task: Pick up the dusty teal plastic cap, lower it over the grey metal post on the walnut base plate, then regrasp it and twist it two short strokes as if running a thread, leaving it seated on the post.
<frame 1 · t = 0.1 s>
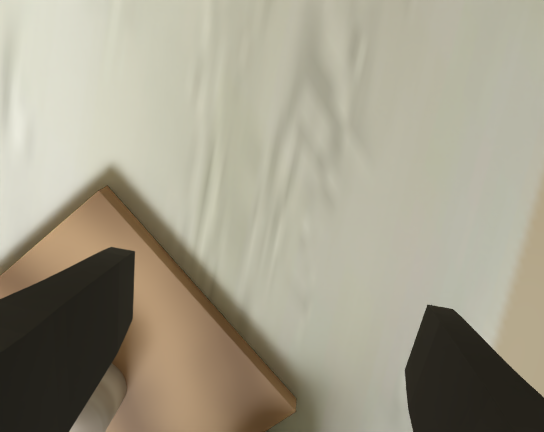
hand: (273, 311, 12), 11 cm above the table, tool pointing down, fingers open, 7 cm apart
post fixture: (105, 373, 25), on the table
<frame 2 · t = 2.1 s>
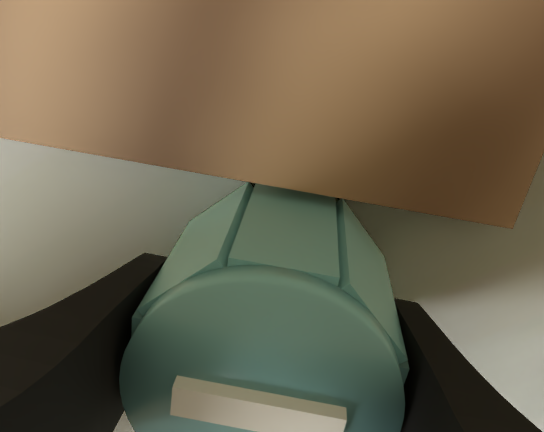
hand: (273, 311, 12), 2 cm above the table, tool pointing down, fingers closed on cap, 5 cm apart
cap: (279, 277, 13), on the table, touching gripper
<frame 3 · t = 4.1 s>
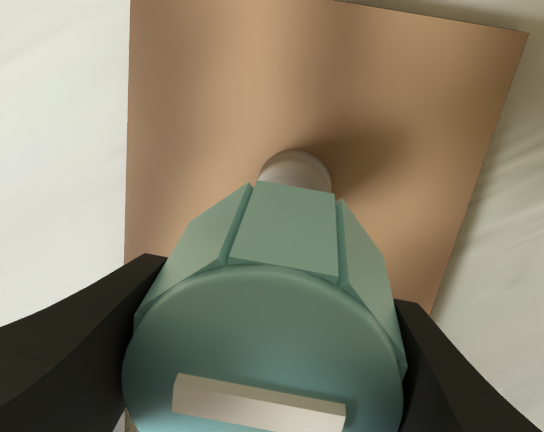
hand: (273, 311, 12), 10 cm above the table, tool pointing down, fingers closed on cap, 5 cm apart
post fixture: (295, 176, 21), on the table
cap: (279, 276, 13), point 8 cm above the table, touching gripper
when the fingers open (3 cm above the table, at t = 5.8 s): cap stays where it is, resting on post fixture.
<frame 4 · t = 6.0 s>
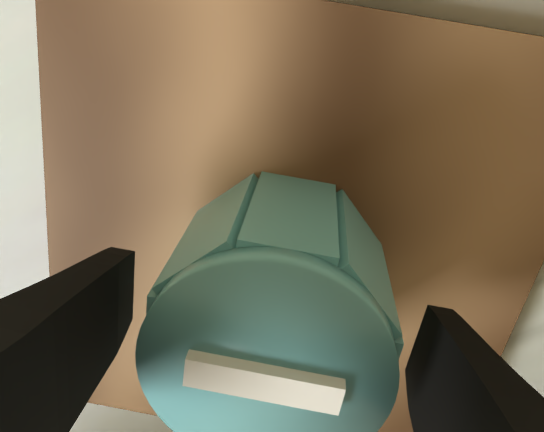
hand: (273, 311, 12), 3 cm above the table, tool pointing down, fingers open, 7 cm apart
post fixture: (284, 246, 15), on the table
cap: (282, 264, 14), point 1 cm above the table, touching post fixture
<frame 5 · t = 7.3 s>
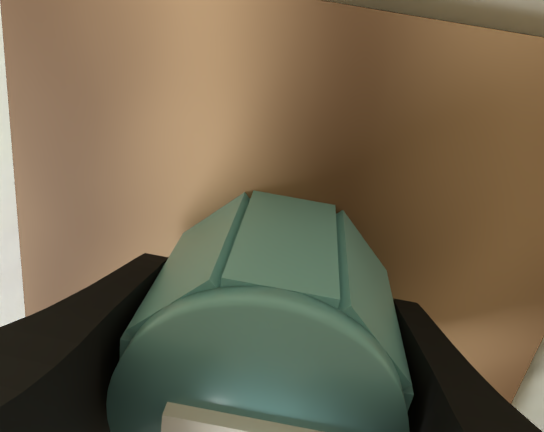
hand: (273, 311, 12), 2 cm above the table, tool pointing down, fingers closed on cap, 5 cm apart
post fixture: (280, 269, 14), on the table
cap: (276, 290, 13), point 1 cm above the table, touching gripper, post fixture
when the fingers open (2 cm above the table, at t = 8.8 s): cap stays where it is, resting on post fixture.
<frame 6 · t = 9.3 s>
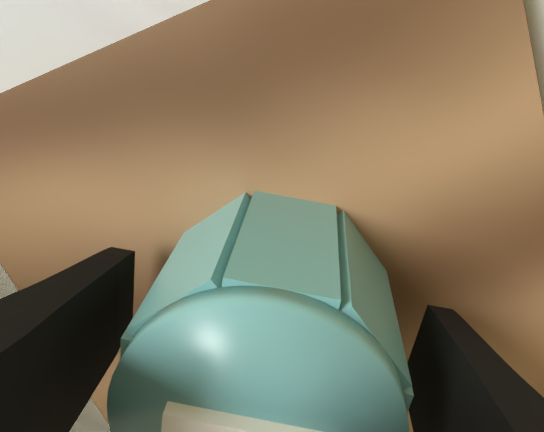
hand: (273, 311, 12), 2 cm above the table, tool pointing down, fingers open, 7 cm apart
post fixture: (280, 269, 14), on the table
cap: (277, 290, 13), point 1 cm above the table, touching post fixture
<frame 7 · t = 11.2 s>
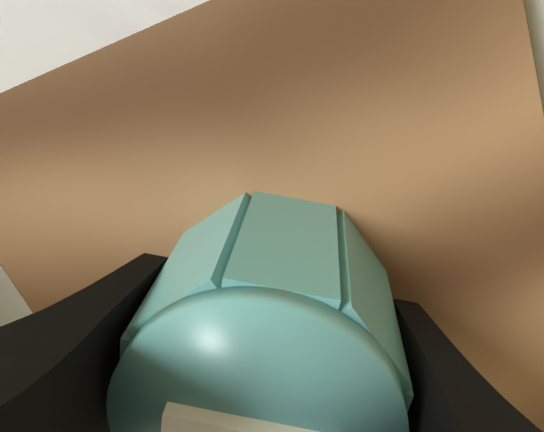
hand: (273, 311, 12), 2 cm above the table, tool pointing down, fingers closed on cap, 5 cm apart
post fixture: (280, 269, 14), on the table
cap: (276, 291, 13), point 1 cm above the table, touching gripper, post fixture
when the fingers open (2 cm above the table, at t = 12.2 s): cap stays where it is, resting on post fixture.
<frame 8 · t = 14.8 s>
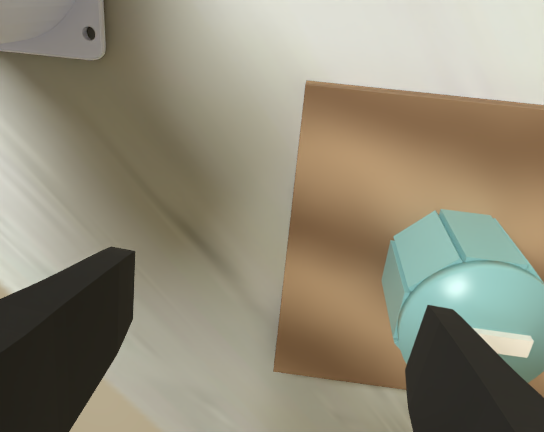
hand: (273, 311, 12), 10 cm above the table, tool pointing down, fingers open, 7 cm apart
post fixture: (444, 256, 22), on the table
cap: (448, 269, 21), point 1 cm above the table, touching post fixture
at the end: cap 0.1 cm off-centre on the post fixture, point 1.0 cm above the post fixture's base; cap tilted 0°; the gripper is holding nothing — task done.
